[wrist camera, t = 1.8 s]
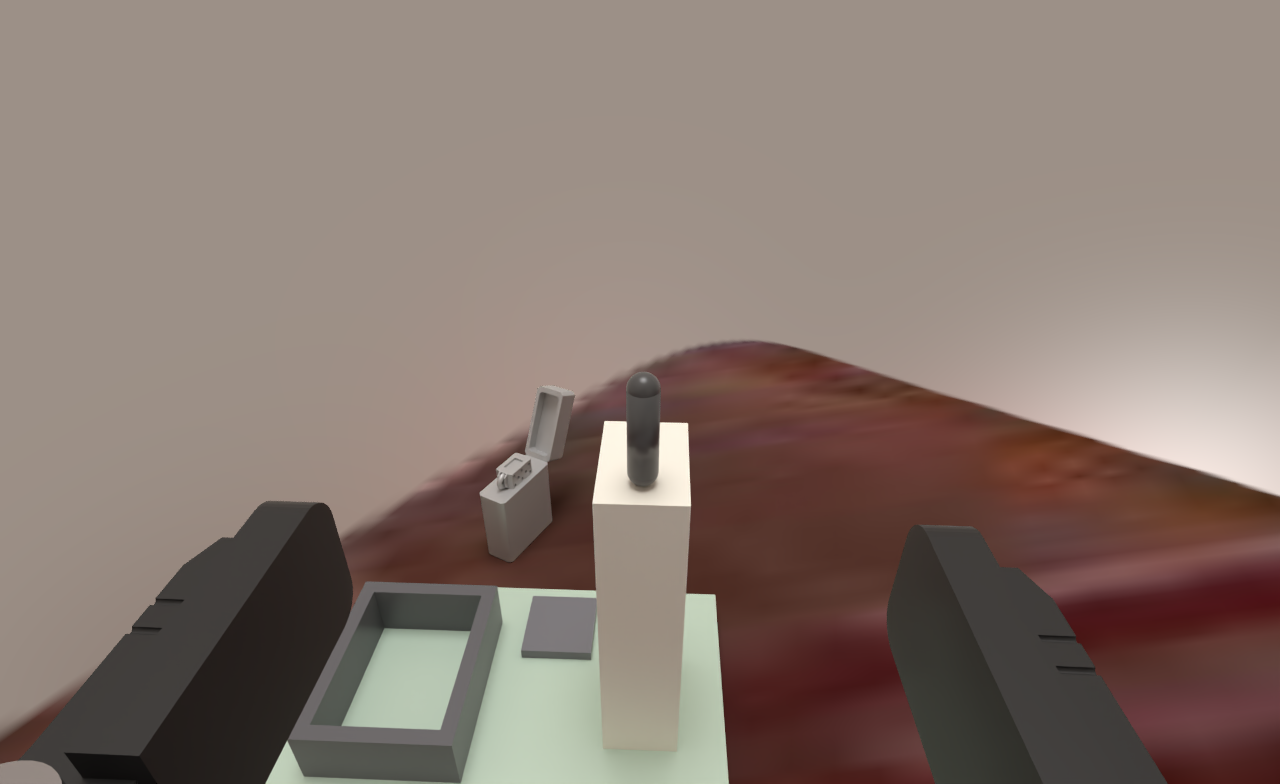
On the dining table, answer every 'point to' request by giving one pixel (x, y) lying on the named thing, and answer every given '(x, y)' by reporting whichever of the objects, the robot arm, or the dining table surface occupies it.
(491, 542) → the lighter
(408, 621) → the board
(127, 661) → the robot arm
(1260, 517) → the dining table surface
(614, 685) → the cream rectangular pillar
